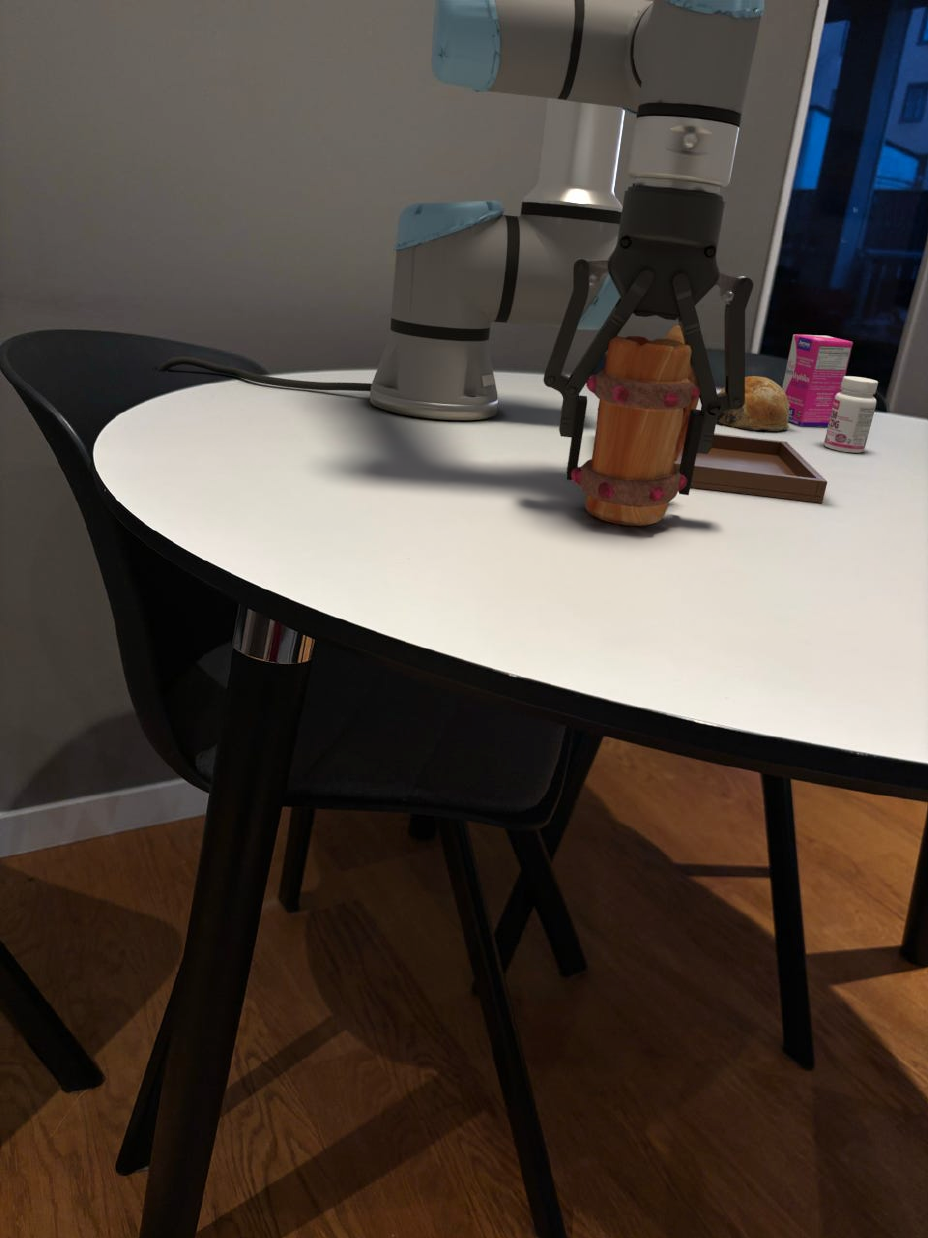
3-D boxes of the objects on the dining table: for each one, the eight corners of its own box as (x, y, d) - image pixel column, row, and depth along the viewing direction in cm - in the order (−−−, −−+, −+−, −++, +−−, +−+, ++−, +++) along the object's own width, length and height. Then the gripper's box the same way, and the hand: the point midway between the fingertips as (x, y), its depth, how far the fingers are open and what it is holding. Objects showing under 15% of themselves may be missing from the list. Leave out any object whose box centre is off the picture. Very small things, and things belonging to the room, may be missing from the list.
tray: (603, 476, 93) (607, 455, 92) (598, 438, 110) (601, 419, 110) (822, 503, 92) (827, 481, 91) (782, 460, 109) (786, 441, 108)
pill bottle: (814, 444, 120) (831, 374, 117) (841, 443, 123) (858, 375, 119) (845, 453, 116) (862, 382, 113) (872, 453, 119) (890, 382, 116)
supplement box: (773, 417, 137) (792, 332, 132) (808, 418, 139) (827, 335, 134) (799, 426, 132) (819, 338, 127) (835, 427, 134) (856, 341, 129)
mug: (642, 542, 74) (677, 338, 69) (550, 517, 78) (576, 322, 73) (714, 509, 86) (749, 332, 80) (630, 488, 90) (658, 319, 84)
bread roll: (776, 461, 126) (815, 408, 123) (712, 420, 124) (750, 364, 122) (756, 445, 135) (792, 394, 133) (695, 406, 133) (731, 354, 131)
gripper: (532, 169, 70) (495, 478, 78) (834, 201, 69) (763, 511, 77) (535, 174, 77) (502, 458, 85) (809, 204, 76) (747, 488, 84)
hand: (626, 483), depth 81 cm, fingers closed on mug, 9 cm apart
